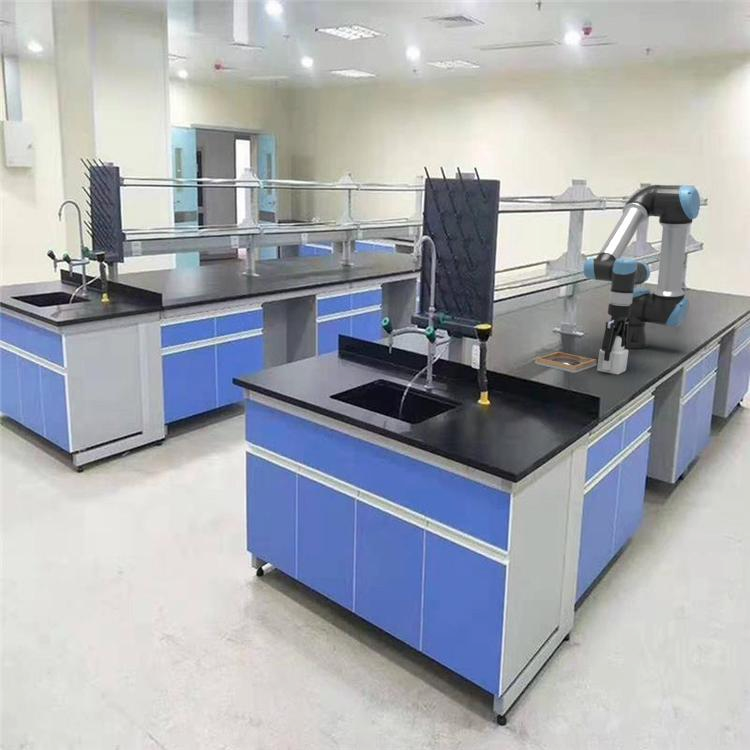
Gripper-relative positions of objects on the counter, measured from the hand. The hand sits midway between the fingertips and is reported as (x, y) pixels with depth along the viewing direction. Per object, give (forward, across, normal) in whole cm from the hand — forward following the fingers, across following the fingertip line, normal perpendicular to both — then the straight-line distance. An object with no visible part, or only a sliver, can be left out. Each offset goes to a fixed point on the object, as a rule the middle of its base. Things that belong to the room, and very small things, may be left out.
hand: (611, 367), depth 249 cm
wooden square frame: (+1, +6, -15) cm, 16 cm away
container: (+2, 0, 0) cm, 2 cm away
